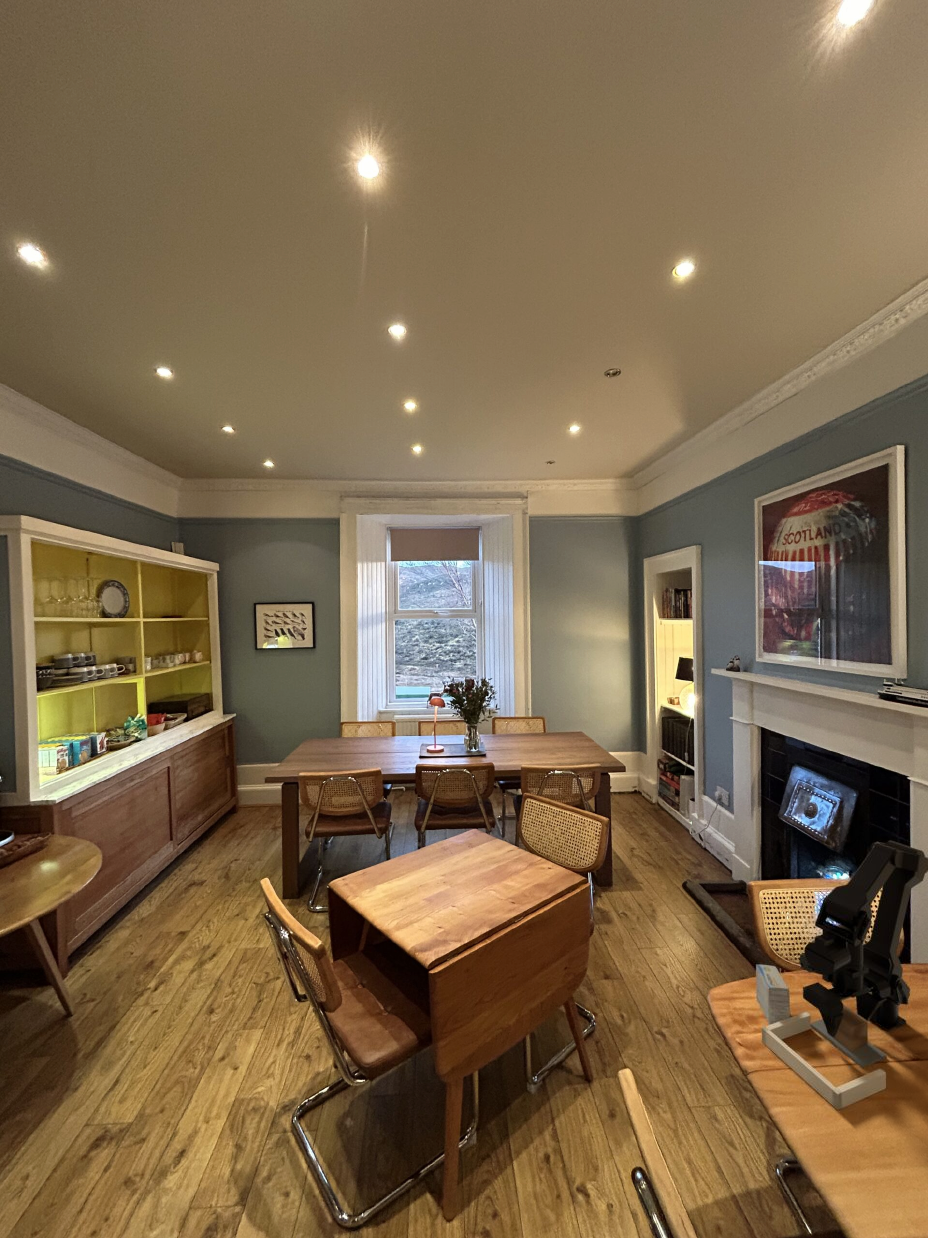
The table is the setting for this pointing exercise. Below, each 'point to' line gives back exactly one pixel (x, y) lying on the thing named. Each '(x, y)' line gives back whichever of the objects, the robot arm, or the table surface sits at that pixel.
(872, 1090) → the white u-shaped frame
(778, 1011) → the medicine box
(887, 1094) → the table surface
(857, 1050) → the slate coaster
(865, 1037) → the walnut block
